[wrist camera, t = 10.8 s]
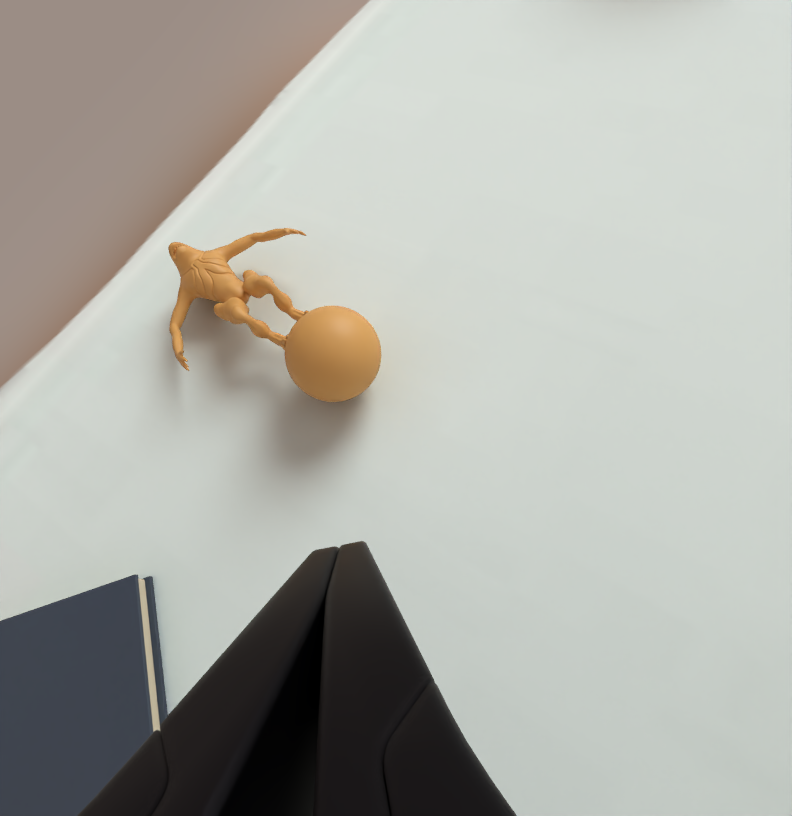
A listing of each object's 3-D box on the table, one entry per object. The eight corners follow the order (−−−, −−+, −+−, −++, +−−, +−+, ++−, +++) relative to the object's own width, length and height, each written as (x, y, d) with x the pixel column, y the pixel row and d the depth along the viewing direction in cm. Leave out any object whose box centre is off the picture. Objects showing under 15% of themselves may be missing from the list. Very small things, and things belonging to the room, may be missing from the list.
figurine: (300, 456, 19) (58, 273, 20) (321, 472, 25) (133, 329, 26) (434, 285, 20) (200, 126, 22) (424, 339, 26) (240, 211, 28)
